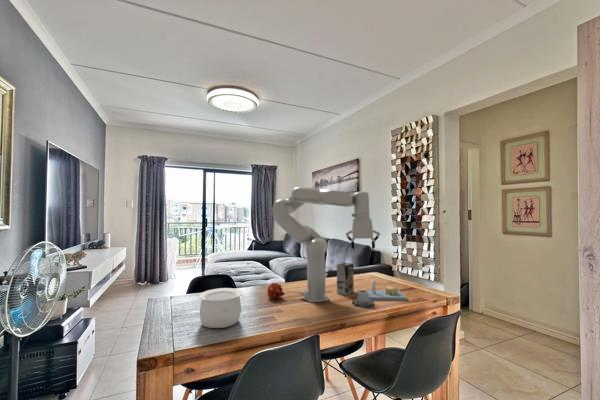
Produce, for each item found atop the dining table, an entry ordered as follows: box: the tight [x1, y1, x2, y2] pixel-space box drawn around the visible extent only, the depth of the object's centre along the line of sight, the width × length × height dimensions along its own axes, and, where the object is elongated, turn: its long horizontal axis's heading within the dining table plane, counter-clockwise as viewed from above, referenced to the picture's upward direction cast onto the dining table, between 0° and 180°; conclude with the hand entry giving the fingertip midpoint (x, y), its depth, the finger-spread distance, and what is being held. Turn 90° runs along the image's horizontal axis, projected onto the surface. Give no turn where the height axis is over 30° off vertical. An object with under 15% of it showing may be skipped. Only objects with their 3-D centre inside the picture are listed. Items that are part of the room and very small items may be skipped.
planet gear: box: [351, 289, 375, 309], centre depth 141 cm, size 11×11×6 cm
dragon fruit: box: [267, 282, 286, 301], centre depth 151 cm, size 8×8×12 cm
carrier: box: [366, 279, 408, 301], centre depth 154 cm, size 20×14×8 cm
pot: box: [198, 287, 243, 329], centre depth 118 cm, size 22×17×12 cm
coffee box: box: [336, 262, 355, 296], centre depth 161 cm, size 9×6×16 cm
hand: (363, 249), depth 144 cm, fingers open, 9 cm apart
